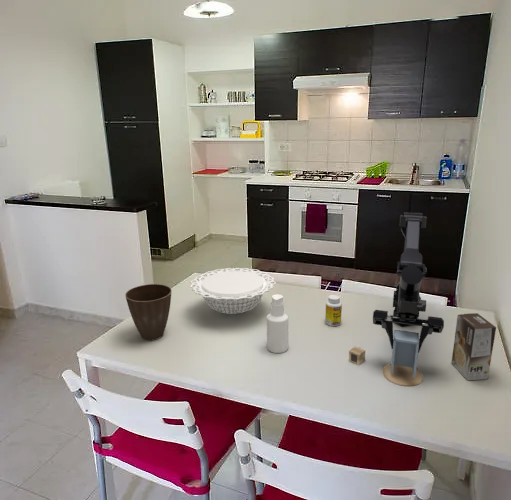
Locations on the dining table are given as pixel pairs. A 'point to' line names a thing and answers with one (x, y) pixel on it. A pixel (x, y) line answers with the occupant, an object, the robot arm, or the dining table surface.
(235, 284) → the white woven basket
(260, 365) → the dining table surface
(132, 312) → the plant pot
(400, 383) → the coaster
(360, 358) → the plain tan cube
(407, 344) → the blue-grey open box
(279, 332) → the spray bottle
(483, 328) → the coffee box
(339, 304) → the supplement bottle
